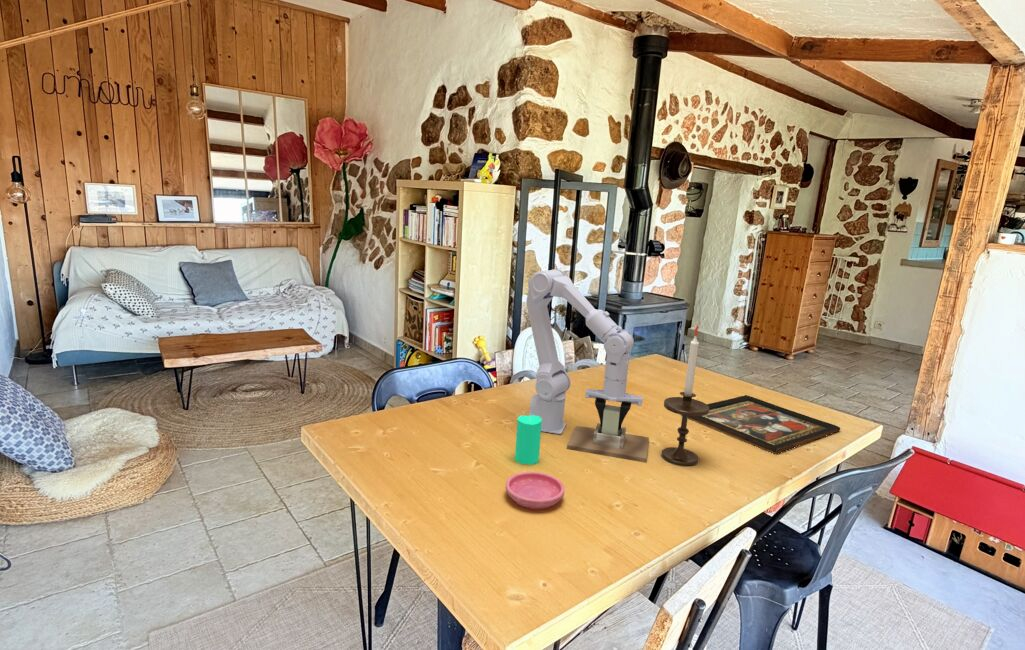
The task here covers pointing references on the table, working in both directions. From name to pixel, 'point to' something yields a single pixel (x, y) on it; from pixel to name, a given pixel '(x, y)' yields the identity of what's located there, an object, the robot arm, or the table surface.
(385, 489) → the table surface
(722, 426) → the religious icon
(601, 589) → the table surface
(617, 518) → the table surface
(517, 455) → the green upright cylinder
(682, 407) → the candlestick
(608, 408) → the rectangular block
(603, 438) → the brown socket board
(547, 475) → the saucer
